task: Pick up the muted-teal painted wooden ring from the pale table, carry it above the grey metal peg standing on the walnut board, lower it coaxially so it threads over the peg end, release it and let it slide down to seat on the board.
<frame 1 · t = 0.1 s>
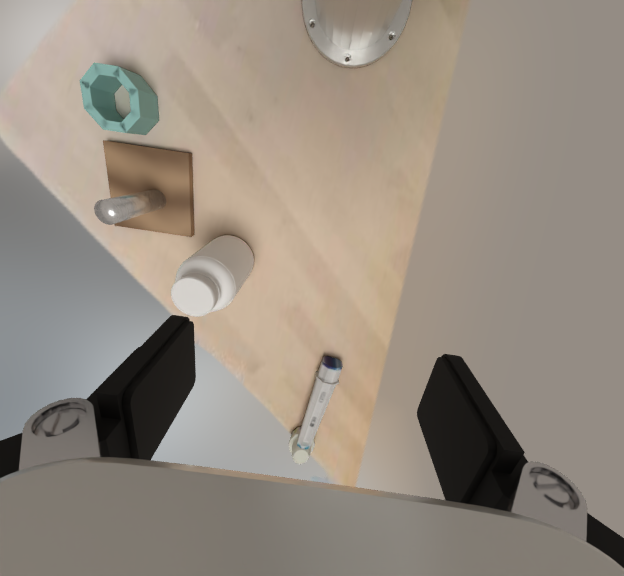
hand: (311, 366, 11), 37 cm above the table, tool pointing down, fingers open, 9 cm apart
ring: (132, 104, 40), on the table
pill bottle: (231, 257, 49), on the table
board: (153, 190, 45), on the table
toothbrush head: (314, 401, 61), on the table
grey metal peg: (160, 198, 45), resting on board
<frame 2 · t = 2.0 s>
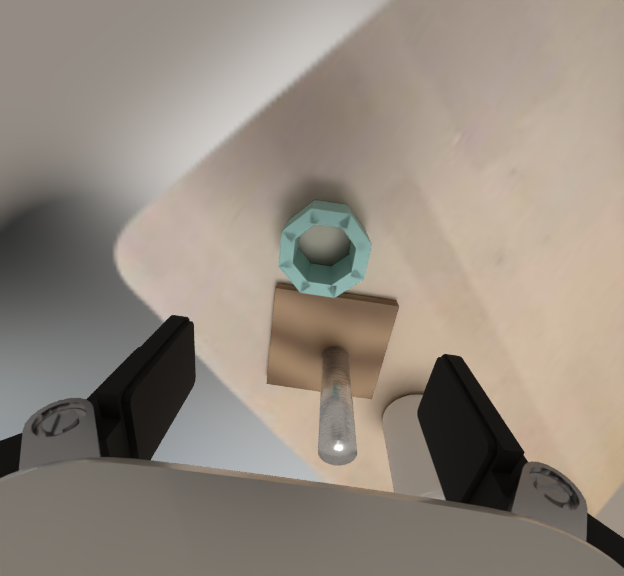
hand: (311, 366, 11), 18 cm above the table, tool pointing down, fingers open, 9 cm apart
ring: (325, 240, 27), on the table
pill bottle: (413, 415, 36), on the table
board: (327, 341, 32), on the table
grey metal peg: (335, 350, 32), resting on board
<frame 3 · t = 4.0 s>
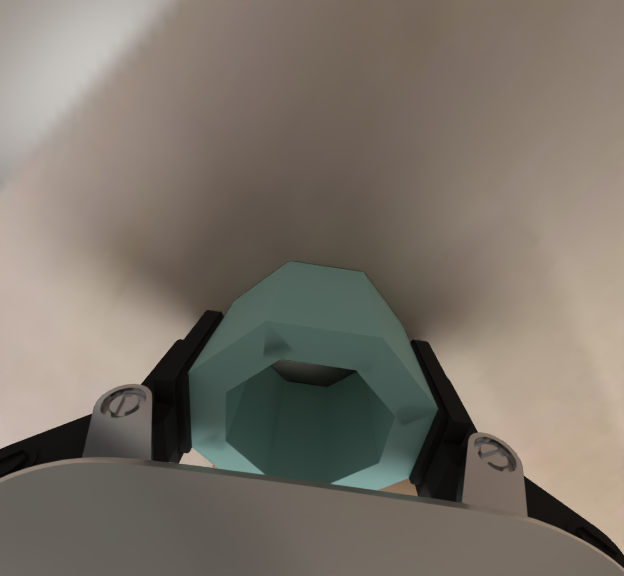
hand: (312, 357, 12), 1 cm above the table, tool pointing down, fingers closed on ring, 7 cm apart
ring: (313, 341, 13), on the table, touching gripper
board: (322, 501, 17), on the table
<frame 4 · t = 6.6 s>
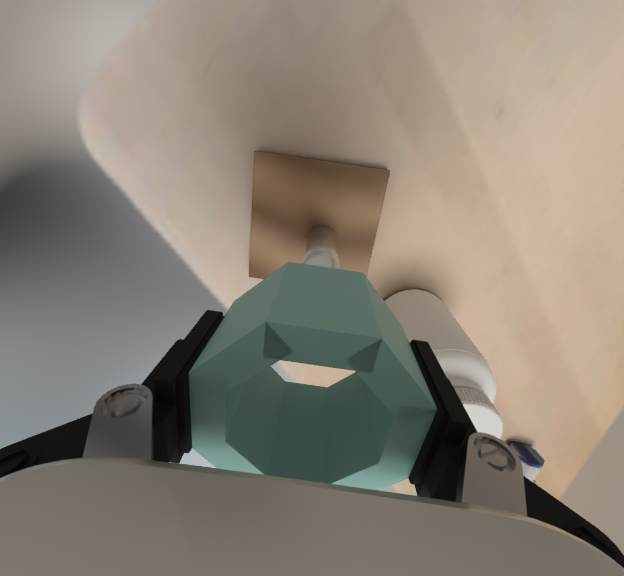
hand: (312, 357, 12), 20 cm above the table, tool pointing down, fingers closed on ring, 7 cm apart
ring: (313, 342, 13), point 19 cm above the table, touching gripper
pill bottle: (408, 318, 34), on the table
board: (314, 225, 30), on the table
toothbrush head: (475, 492, 46), on the table
grey metal peg: (322, 236, 30), resting on board
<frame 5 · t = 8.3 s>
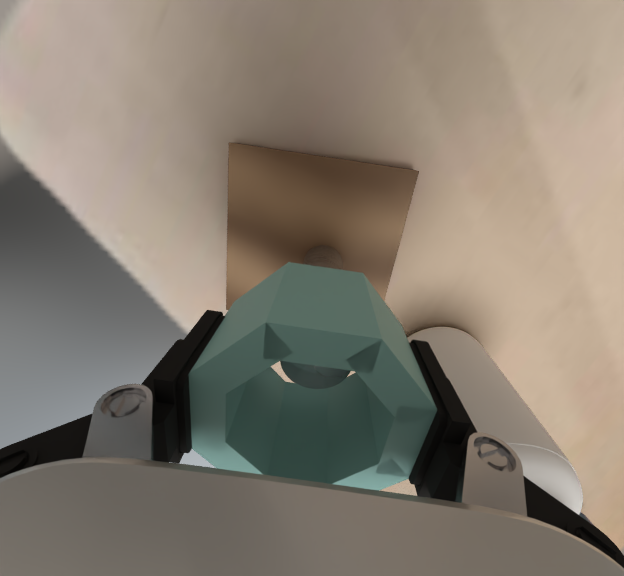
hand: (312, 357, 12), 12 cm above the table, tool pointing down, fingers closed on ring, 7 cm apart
ring: (313, 342, 13), point 11 cm above the table, touching gripper
pill bottle: (433, 361, 26), on the table
board: (312, 243, 22), on the table
grey metal peg: (323, 258, 22), resting on board
when the fingers open (9 cm above the table, at t = 9.4 s): ring drops 7 cm, resting on board.
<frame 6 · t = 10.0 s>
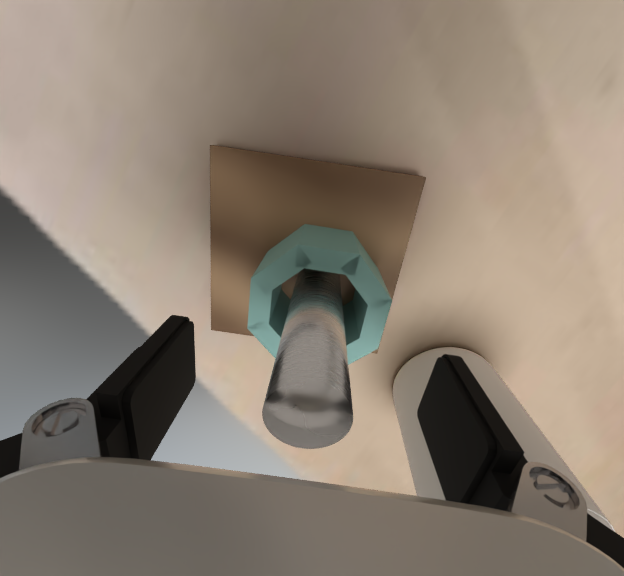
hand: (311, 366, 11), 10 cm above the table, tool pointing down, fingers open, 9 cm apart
ring: (319, 280, 19), point 1 cm above the table, touching board
pill bottle: (439, 383, 24), on the table
board: (306, 257, 20), on the table
grey metal peg: (318, 273, 20), resting on board
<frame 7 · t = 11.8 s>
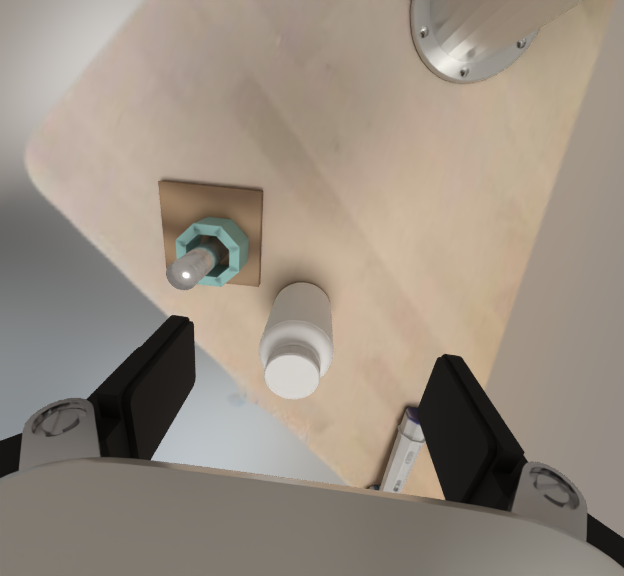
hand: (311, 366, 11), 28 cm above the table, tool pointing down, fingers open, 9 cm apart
ring: (220, 246, 37), point 1 cm above the table, touching board
pill bottle: (302, 306, 42), on the table
board: (214, 235, 38), on the table
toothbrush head: (390, 457, 53), on the table
grey metal peg: (222, 243, 38), resting on board
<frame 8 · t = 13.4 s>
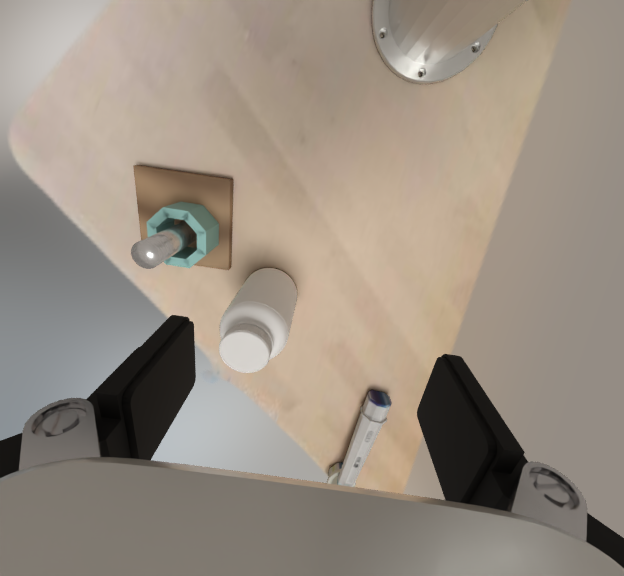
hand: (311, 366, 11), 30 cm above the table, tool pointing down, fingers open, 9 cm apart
ring: (192, 230, 39), point 1 cm above the table, touching board
pill bottle: (271, 291, 44), on the table
board: (188, 219, 40), on the table
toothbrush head: (355, 436, 56), on the table
grey metal peg: (195, 227, 40), resting on board
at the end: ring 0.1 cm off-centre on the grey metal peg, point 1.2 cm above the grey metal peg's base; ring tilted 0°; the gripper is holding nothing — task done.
